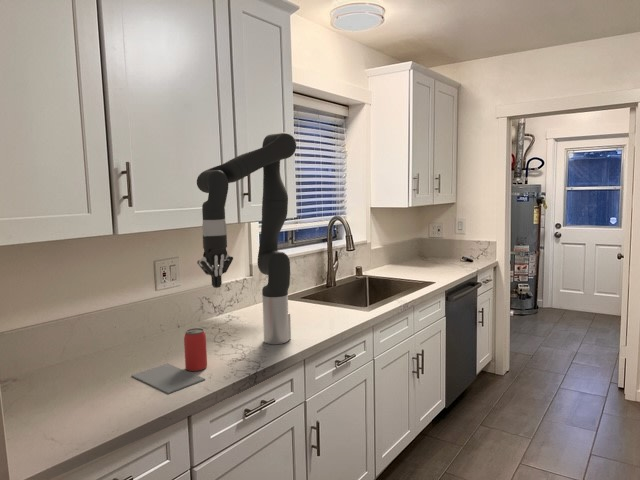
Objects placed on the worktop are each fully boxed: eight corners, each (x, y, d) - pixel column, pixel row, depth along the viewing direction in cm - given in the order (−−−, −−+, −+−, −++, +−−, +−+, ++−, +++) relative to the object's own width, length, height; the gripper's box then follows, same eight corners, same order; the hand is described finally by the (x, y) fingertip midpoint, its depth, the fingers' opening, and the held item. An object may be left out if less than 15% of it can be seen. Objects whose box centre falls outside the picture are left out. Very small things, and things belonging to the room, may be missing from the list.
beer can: (184, 365, 146) (182, 329, 145) (205, 362, 148) (204, 326, 147) (186, 373, 140) (184, 334, 139) (208, 370, 142) (206, 332, 141)
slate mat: (167, 364, 147) (167, 363, 147) (205, 379, 135) (205, 378, 134) (131, 376, 138) (131, 375, 138) (168, 394, 125) (168, 392, 125)
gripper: (223, 231, 154) (225, 282, 156) (189, 234, 144) (192, 289, 146) (238, 232, 149) (240, 285, 151) (204, 236, 139) (206, 292, 141)
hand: (216, 287), depth 148 cm, fingers closed
